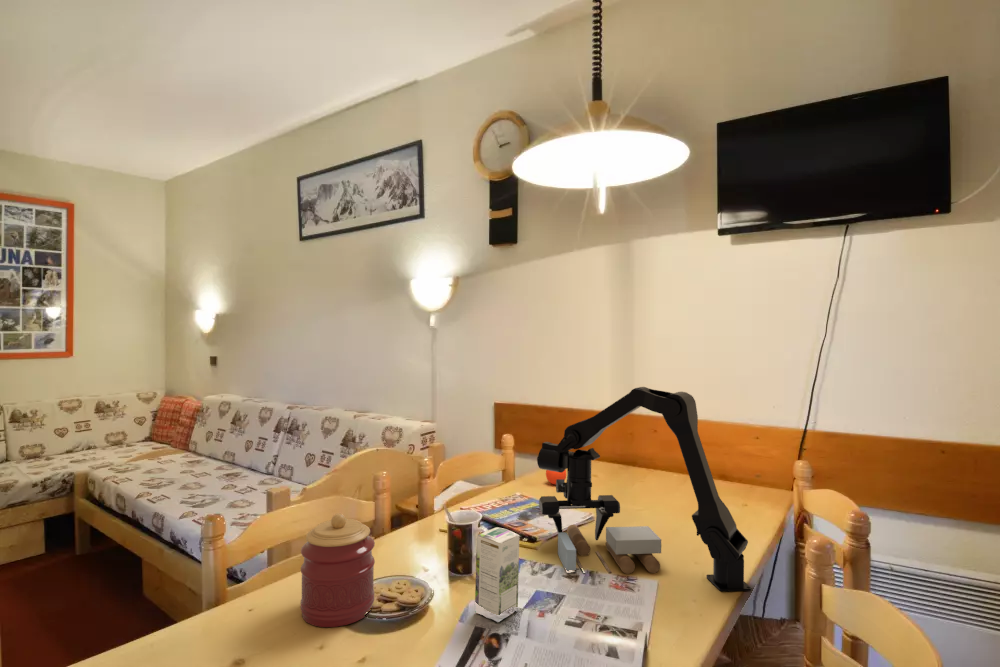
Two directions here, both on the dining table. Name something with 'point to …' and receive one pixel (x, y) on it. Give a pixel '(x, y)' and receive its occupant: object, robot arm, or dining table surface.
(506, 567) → the syrup box
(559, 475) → the clementine
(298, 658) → the dining table surface
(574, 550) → the bar
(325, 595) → the canister
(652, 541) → the slab
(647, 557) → the roller track
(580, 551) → the roller
